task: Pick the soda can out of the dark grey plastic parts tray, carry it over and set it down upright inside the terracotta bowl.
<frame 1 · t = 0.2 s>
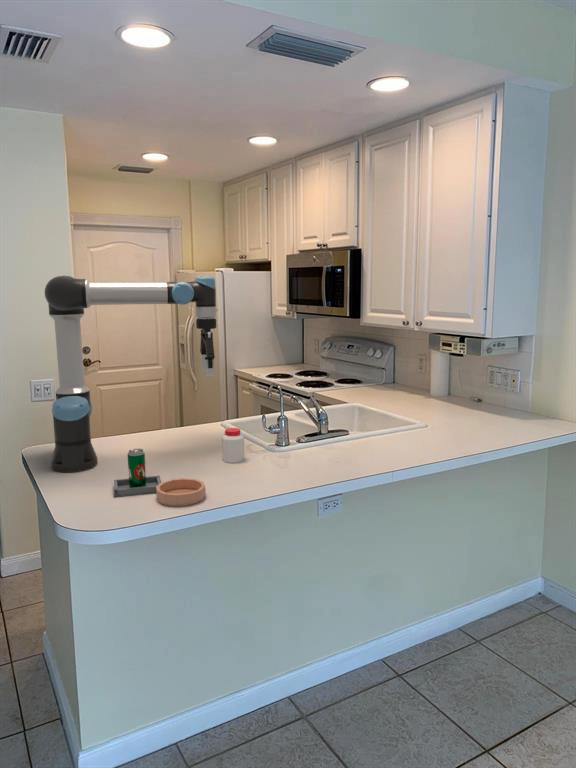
hand: (207, 373, 227), 28 cm above the counter, fingers open, 13 cm apart
tray: (137, 488, 183), on the counter
pill bottle: (233, 460, 213), on the counter
bowl: (181, 497, 176), on the counter
soda can: (137, 488, 183), resting on tray
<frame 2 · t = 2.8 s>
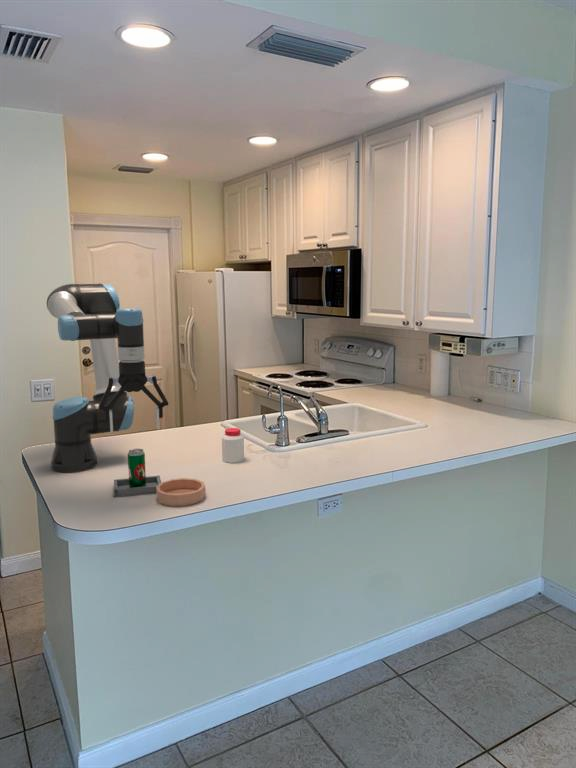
hand: (135, 430, 180), 19 cm above the counter, fingers open, 13 cm apart
nothing on the counter moved.
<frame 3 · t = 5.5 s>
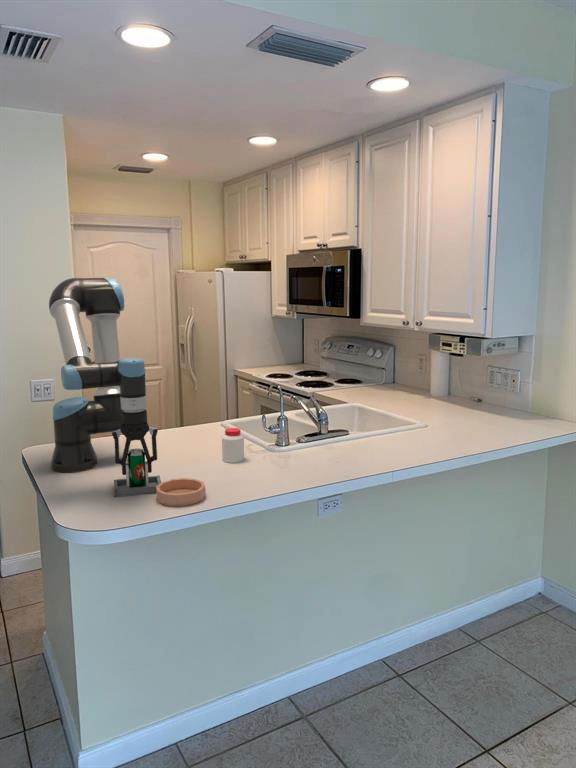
hand: (137, 483, 183), 2 cm above the counter, fingers closed on soda can, 5 cm apart
soda can: (137, 488, 183), resting on tray, touching gripper
everything else where it was.
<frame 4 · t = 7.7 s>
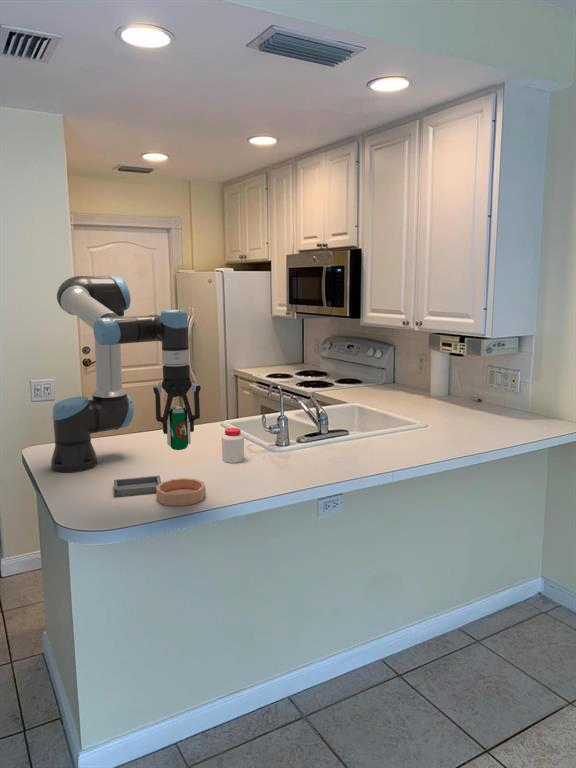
hand: (179, 443, 173), 17 cm above the counter, fingers closed on soda can, 5 cm apart
soda can: (179, 448, 174), point 15 cm above the counter, touching gripper
everything else where it was.
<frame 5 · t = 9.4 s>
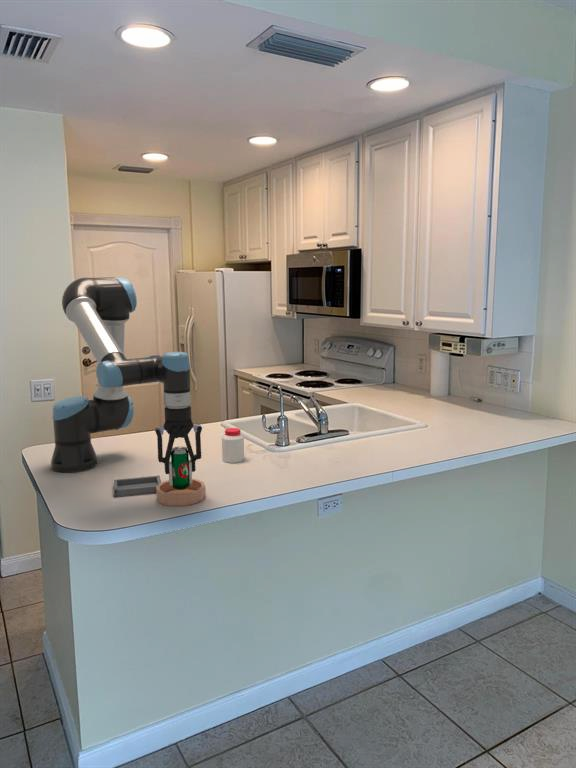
hand: (180, 483, 176), 4 cm above the counter, fingers closed on soda can, 5 cm apart
soda can: (180, 488, 176), point 3 cm above the counter, touching gripper
everything else where it was.
when the fingers open (3 cm above the counter, at t = 10.3 s): soda can drops 1 cm, resting on bowl.
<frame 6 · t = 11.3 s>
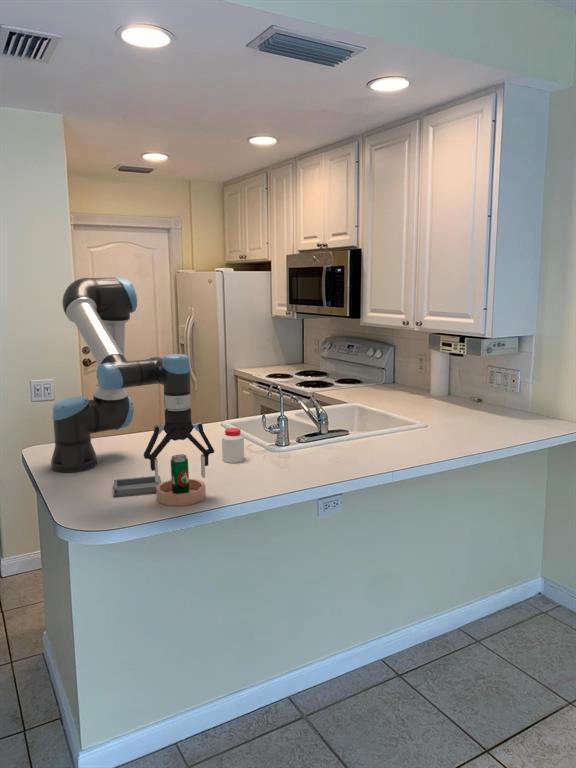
hand: (180, 478, 175), 6 cm above the counter, fingers open, 13 cm apart
soda can: (181, 495, 176), resting on bowl
everything else where it was.
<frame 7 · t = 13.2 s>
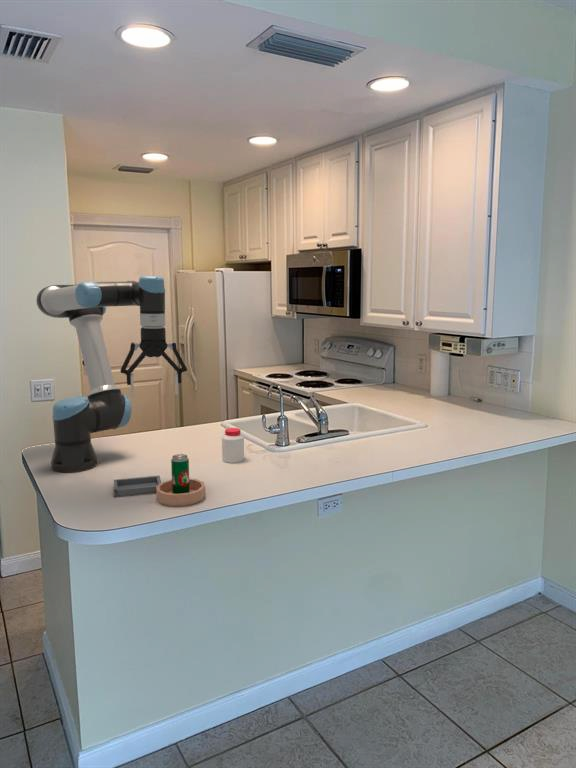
hand: (154, 394, 188), 28 cm above the counter, fingers open, 13 cm apart
nothing on the counter moved.
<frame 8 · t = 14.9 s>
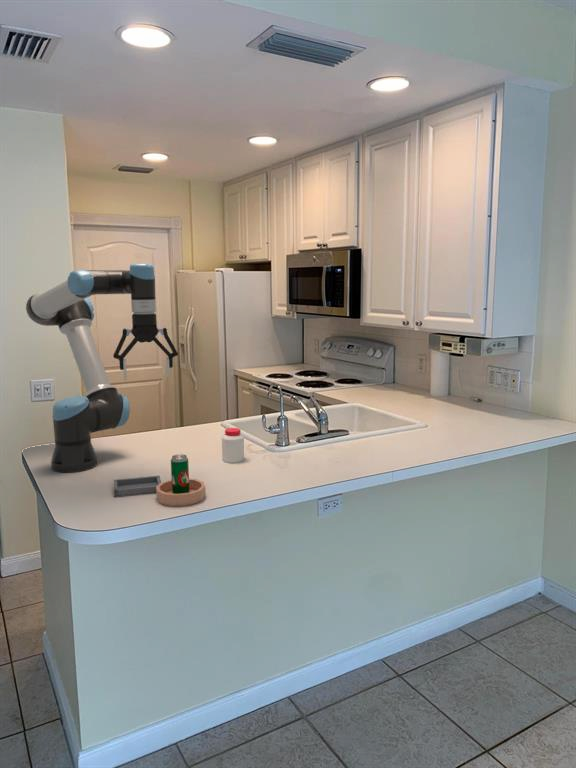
hand: (147, 378, 193), 32 cm above the counter, fingers open, 13 cm apart
nothing on the counter moved.
at the end: soda can 0.0 cm from the bowl (horizontally); soda can tilted 1°; soda can touching bowl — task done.
